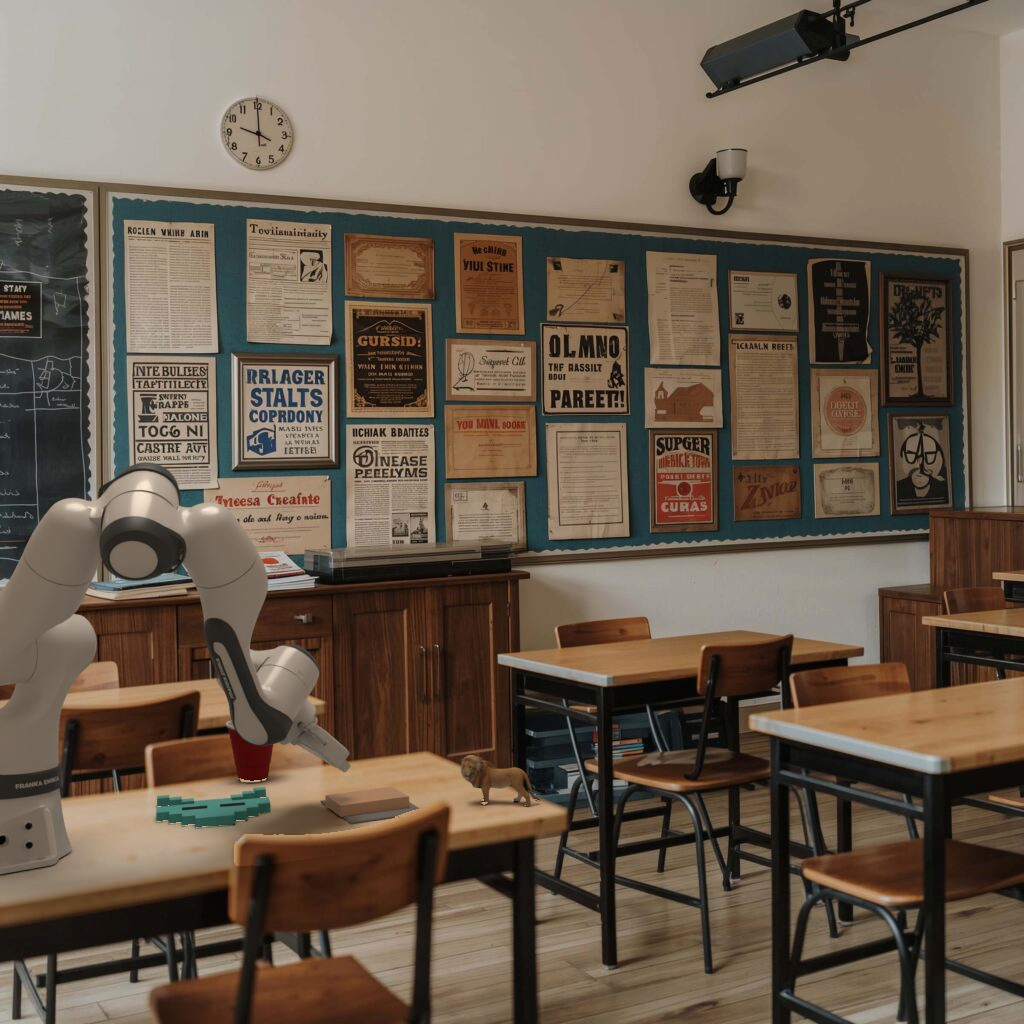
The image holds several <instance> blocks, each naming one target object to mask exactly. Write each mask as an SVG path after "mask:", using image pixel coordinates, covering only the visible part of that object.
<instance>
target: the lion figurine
mask: <svg viewBox="0 0 1024 1024" xmlns="http://www.w3.org/2000/svg"><path fill="white" fill-rule="evenodd" d="M460 774H461V776H462V778H463V779H464V780H465V781H466V782H468V783H470V784H471V785H472V788H475V789H481V792H482V798H483V799H484V801H481V802H490V789H504V788H508V787H509V786H512V788H513V789H514V790H515V791H516V792H517V797H514V798H513V800H514V801H519V802H521V800H522V798H524V799H525V801H524V802H523V803H522V806H524V805H529V806H530V805H531V801H532V800H534V799H537V800H540V801H539V802H541V800H542V799H540V797H538V796H535V795H536V794H534V792H533V789H532V784H531V782H530V779H529V777H528V775H527V773H526V772H525V771H524V770H523V769H521V768H519V767H515V766H514V767H509V768H498V767H496V766H495V765H494V764H493V763H491V761H487V760H485V759H483V758H482V757H481V756H477V755H474V754H470V755H469V754H468V755H466V756H464V758H461V767H460ZM524 782H525V783H526V786H527V789H528V791H529V793H528V791H527V789H525V787H524ZM531 798H532V800H531ZM537 800H534V801H536V802H538V801H537Z"/></svg>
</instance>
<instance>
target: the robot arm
mask: <svg viewBox="0 0 1024 1024" xmlns="http://www.w3.org/2000/svg"><path fill="white" fill-rule="evenodd" d="M180 491H181V490H180V488H179V484H178V482H177V479H176V478H175V476H174V475H173V474H172V472H171V471H170V470H169V469H167V468H166V467H164V466H162V465H161V464H159V463H155V462H146V461H145V462H137V463H134V464H132V465H130V466H128V467H127V468H125V469H124V470H122V471H121V472H119V473H118V474H116V476H115V477H114V478H113V479H111V480H109V481H108V482H105V483H104V484H103V485H102V486H100V487H99V489H98V492H97V499H95V500H86V499H83V498H78V497H70V498H69V497H68V498H64V499H61V500H58V501H57V502H55V503H54V504H53V505H51V507H50V508H49V509H48V510H47V512H46V513H45V514H44V515H43V517H42V518H41V520H40V521H39V522H38V524H37V526H36V527H35V528H34V530H33V532H32V533H31V535H30V537H29V539H28V542H27V544H26V545H25V547H24V550H23V553H22V554H21V557H20V559H19V561H18V563H17V565H16V567H15V569H14V571H13V573H12V575H11V577H10V578H9V580H8V582H6V584H5V585H4V587H3V588H2V589H1V590H0V686H1V687H2V686H6V685H14V684H15V686H14V690H13V693H12V695H11V697H10V698H9V700H8V701H7V703H5V704H4V706H2V707H1V708H0V875H4V874H9V873H16V872H21V871H25V870H32V869H37V868H42V867H43V868H44V867H48V866H53V865H55V864H56V863H58V861H59V859H61V858H62V857H65V856H66V855H68V854H69V853H70V852H71V851H72V849H73V847H72V845H71V842H70V839H69V836H68V832H67V828H66V824H65V820H64V818H65V817H64V814H63V805H62V797H63V785H64V783H63V781H64V780H63V772H62V771H63V770H62V764H61V763H60V762H59V737H60V736H59V735H60V733H59V732H60V719H61V713H62V709H63V705H64V703H65V700H66V698H67V696H68V693H69V691H70V689H71V687H72V686H73V684H74V683H75V681H76V679H77V678H79V676H80V675H81V674H82V673H83V672H84V671H85V670H86V669H87V668H88V667H89V666H90V665H91V663H92V662H93V660H94V658H95V655H96V652H97V646H98V643H97V641H98V640H97V639H98V638H97V635H96V632H95V629H94V627H93V625H92V624H91V622H90V621H89V620H88V619H87V618H86V617H85V616H84V615H81V614H75V613H76V612H77V611H78V609H80V606H81V604H82V602H83V600H84V597H85V596H86V594H87V592H88V590H89V588H90V586H91V583H92V581H93V579H94V577H95V576H96V573H97V571H98V569H99V566H100V564H101V562H102V563H103V565H104V567H105V568H106V570H107V571H108V572H109V573H110V574H111V575H113V576H115V577H116V578H118V579H120V580H124V581H130V582H142V581H148V580H152V579H155V578H157V577H160V576H161V575H163V574H164V575H165V574H167V575H168V574H172V573H174V572H176V571H177V570H178V569H179V568H180V567H181V566H183V567H184V569H186V571H187V573H188V575H189V577H190V578H191V580H192V582H193V584H194V586H195V588H196V590H197V593H198V596H199V600H200V603H201V607H202V614H203V635H204V641H205V644H206V647H207V650H208V653H209V656H210V658H211V661H212V663H213V667H214V668H215V671H216V673H217V675H216V682H217V685H219V687H220V689H221V690H222V692H223V693H224V694H225V697H226V700H227V702H228V707H229V708H228V709H229V716H230V721H231V720H232V723H233V726H234V728H235V730H236V732H237V733H238V734H239V736H240V737H241V738H242V739H244V740H245V741H246V742H248V743H250V744H252V745H256V746H268V745H272V744H273V745H275V744H278V743H279V744H280V745H281V746H286V745H288V744H291V745H293V746H298V747H300V748H302V749H303V750H304V751H306V752H309V753H310V754H312V755H313V756H316V757H317V758H319V759H321V760H322V761H323V762H325V763H327V764H328V765H330V766H332V767H334V768H336V769H338V770H339V771H341V772H343V773H346V772H348V771H349V769H350V768H351V764H350V763H349V761H347V758H348V757H349V755H350V752H349V750H348V749H347V748H346V747H345V746H344V745H343V744H341V743H340V742H339V741H338V740H337V739H336V737H334V736H332V734H330V733H329V732H328V731H326V730H325V729H324V728H323V727H321V726H319V725H318V718H317V716H315V715H316V711H317V708H316V706H315V705H314V704H313V703H312V702H310V701H309V699H308V698H309V696H310V695H311V693H312V691H313V689H314V688H315V686H316V684H317V682H318V679H319V677H320V675H321V673H320V672H321V671H320V667H319V665H318V662H317V660H316V658H315V657H314V656H313V655H312V654H311V652H309V651H308V650H307V649H306V648H304V647H302V646H300V645H298V644H295V643H294V644H293V643H289V644H287V643H286V644H285V643H284V644H281V645H278V646H276V647H275V648H272V649H265V650H253V649H251V639H252V635H253V632H254V628H255V625H256V623H257V620H258V618H259V614H260V612H261V610H262V607H263V605H264V603H265V600H266V598H267V594H268V590H269V580H268V573H267V569H266V566H265V564H264V561H263V559H262V557H261V555H260V553H259V552H258V550H257V548H256V546H255V544H254V543H253V541H252V539H251V537H250V536H249V534H248V533H247V531H246V530H245V528H244V527H243V526H242V525H241V522H239V520H238V519H237V518H236V516H235V515H234V514H233V513H232V511H230V510H229V509H228V508H227V507H226V506H225V505H222V504H220V503H219V502H218V503H217V502H214V501H213V502H212V501H209V502H208V501H207V502H201V503H199V504H195V505H193V506H191V507H189V506H188V507H186V506H181V499H182V498H181V492H180ZM174 566H175V567H174Z"/></svg>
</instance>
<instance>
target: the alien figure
mask: <svg viewBox="0 0 1024 1024" xmlns="http://www.w3.org/2000/svg"><path fill="white" fill-rule="evenodd" d="M260 797H266V798H260ZM269 797H270V796H269ZM269 797H268V796H267V788H266V786H260V787H253V788H252V790H243V791H241V793H239V794H230V797H223V798H213V799H203V800H199V799H198V800H195V798H183V797H182V796H172V797H171V796H170V794H166V795H164V794H163V795H156V809H155V810H156V811H155V814H156V815H155V817H156V818H155V819H156V821H163V820H169V822H168V823H176V822H182V823H181V824H182V825H188V824H196V825H195V828H196V827H202V826H217V827H220V826H219V825H228V826H233V825H232V824H235V825H236V822H235V821H236V820H247V821H248V818H249V817H248V816H259V817H260V814H269V813H271V801H270V798H269ZM168 805H169V806H168ZM157 806H161V807H157ZM264 812H265V813H264ZM268 812H269V813H268ZM247 817H248V818H247ZM182 825H181V826H182Z"/></svg>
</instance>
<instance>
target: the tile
mask: <svg viewBox="0 0 1024 1024" xmlns="http://www.w3.org/2000/svg"><path fill="white" fill-rule="evenodd" d="M324 798H325V799H324V800H325V802H326V806H325V807H326V808H328V809H329V810H331V811H333V812H334V813H335V814H336V815H337V816H339V817H340V818H342V817H343V816H350V815H357V814H364V813H372V812H379V811H386V810H393V809H400V808H408V807H409V802H410V796H409V795H408V794H405V793H404V792H402V791H401V790H399V789H397V788H396V787H393V786H386V787H378V788H370V789H364V790H363V789H362V790H356V791H348V792H346V791H345V792H339V793H331V794H325V797H324Z"/></svg>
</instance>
